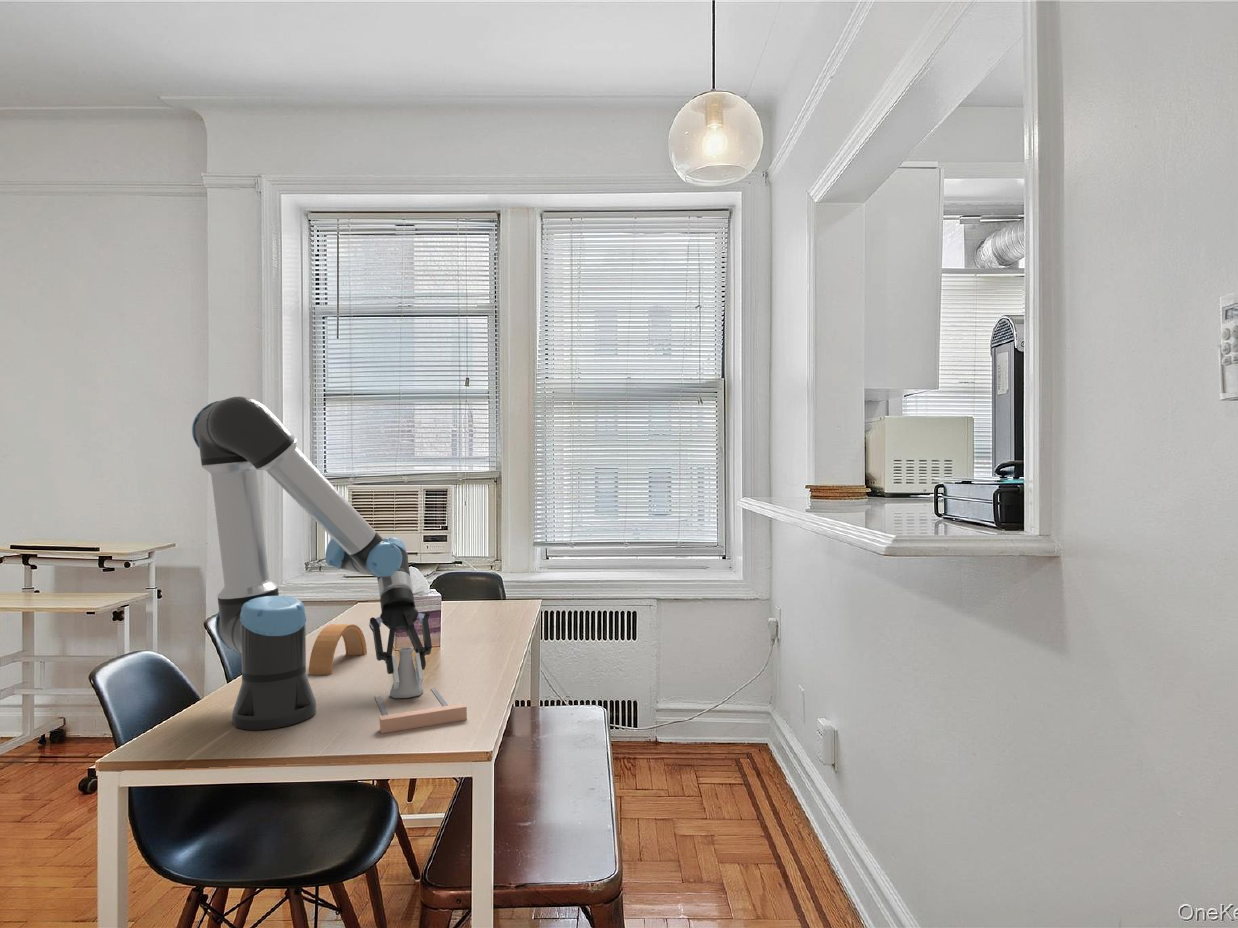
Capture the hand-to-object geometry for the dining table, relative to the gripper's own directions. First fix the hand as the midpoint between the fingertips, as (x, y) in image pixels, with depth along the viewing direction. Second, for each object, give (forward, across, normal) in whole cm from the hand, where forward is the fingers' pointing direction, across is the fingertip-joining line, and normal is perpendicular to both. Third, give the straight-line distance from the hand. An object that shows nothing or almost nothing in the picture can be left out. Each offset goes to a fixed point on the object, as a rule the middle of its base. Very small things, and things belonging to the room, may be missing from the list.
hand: (408, 683), depth 156 cm
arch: (-25, +11, -31) cm, 41 cm away
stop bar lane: (+7, 0, +2) cm, 7 cm away
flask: (0, 0, -5) cm, 5 cm away
